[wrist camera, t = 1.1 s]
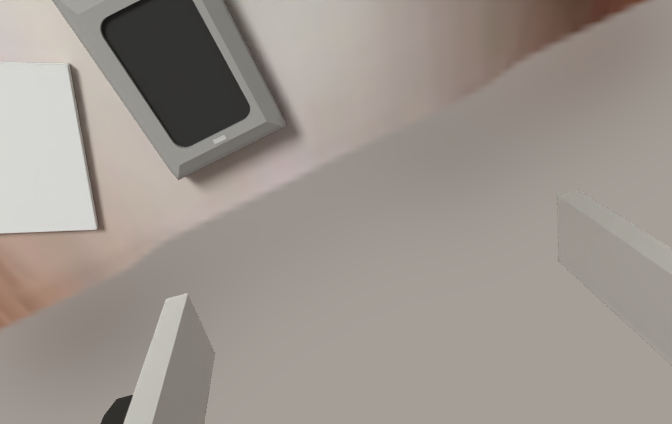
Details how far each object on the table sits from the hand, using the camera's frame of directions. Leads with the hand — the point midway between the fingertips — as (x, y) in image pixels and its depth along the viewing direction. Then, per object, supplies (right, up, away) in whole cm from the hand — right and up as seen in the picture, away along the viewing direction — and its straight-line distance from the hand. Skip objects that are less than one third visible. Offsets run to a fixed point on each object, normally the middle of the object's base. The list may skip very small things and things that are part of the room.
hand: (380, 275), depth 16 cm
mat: (-27, +7, +18) cm, 33 cm away
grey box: (-13, +14, +19) cm, 27 cm away
